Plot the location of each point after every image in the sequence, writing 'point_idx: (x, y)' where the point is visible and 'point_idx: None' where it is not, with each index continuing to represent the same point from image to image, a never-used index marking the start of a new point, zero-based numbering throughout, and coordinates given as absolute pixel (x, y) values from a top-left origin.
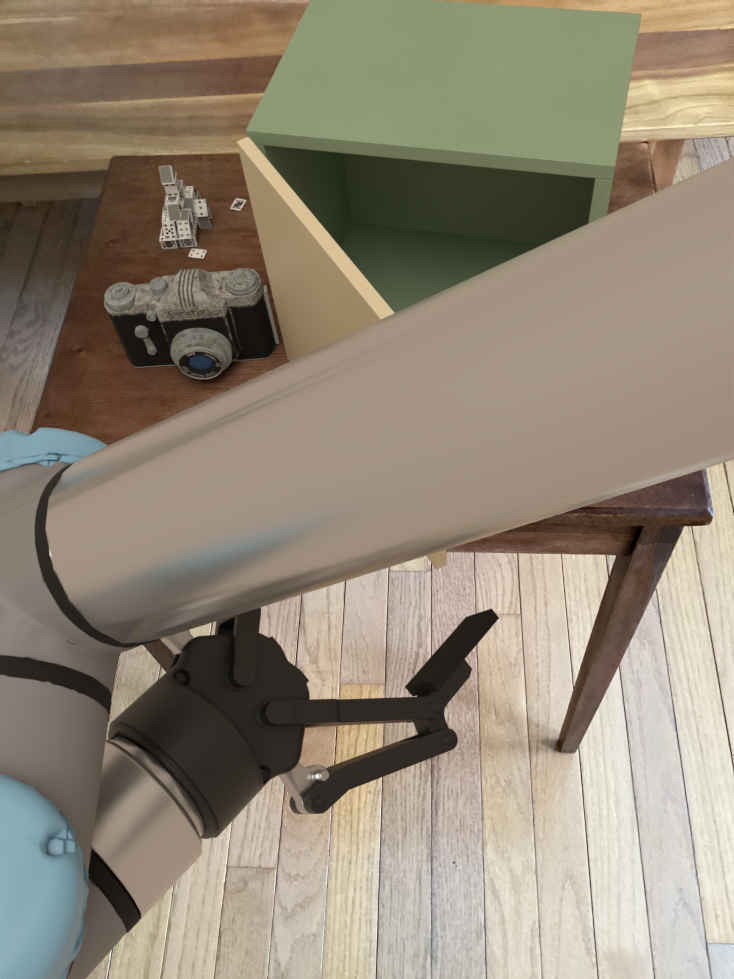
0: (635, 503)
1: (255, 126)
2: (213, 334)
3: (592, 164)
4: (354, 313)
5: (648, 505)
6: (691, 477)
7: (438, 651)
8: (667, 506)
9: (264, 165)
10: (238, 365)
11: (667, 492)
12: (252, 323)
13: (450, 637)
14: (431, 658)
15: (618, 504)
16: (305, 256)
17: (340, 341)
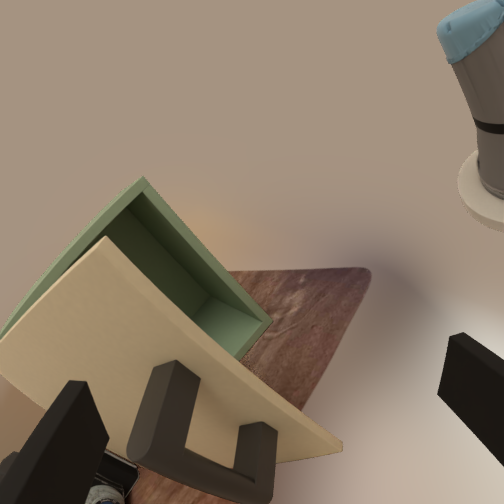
0: (359, 301)
1: None
2: (94, 488)
3: (133, 185)
4: (58, 344)
5: (364, 294)
6: (356, 269)
7: (486, 434)
8: (369, 283)
9: None
10: (131, 494)
11: (360, 282)
12: (107, 466)
13: (466, 415)
14: (493, 447)
15: (355, 310)
16: (33, 367)
17: None
